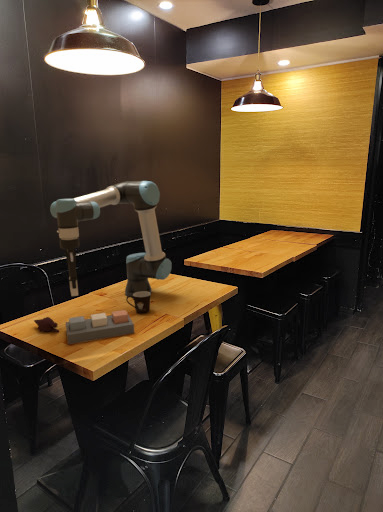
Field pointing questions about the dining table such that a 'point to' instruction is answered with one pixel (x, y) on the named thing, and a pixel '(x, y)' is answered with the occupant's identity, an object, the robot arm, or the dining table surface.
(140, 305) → the coffee mug
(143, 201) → the robot arm
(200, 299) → the dining table surface
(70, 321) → the slate key
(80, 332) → the key panel
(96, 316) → the white key
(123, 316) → the terracotta key
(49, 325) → the dark brown irregular piece
